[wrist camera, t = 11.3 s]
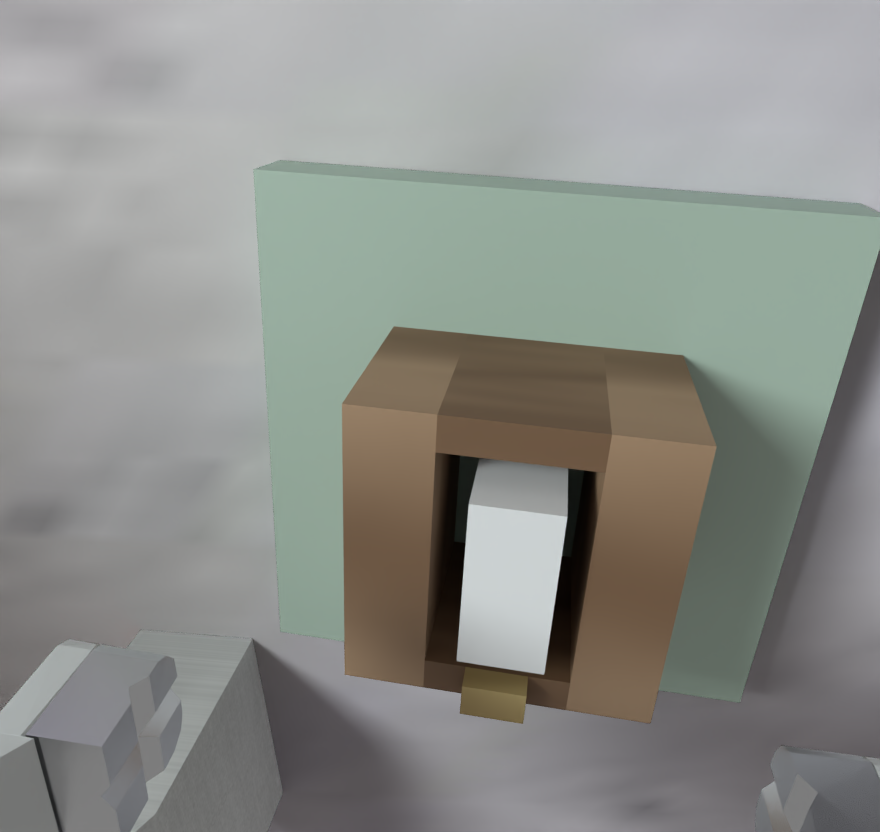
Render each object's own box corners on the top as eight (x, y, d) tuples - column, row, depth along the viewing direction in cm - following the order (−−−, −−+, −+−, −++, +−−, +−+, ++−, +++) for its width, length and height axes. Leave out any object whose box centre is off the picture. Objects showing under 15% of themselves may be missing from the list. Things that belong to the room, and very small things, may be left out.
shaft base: (298, 595, 22) (208, 773, 16) (279, 160, 16) (135, 209, 11) (728, 659, 20) (784, 878, 15) (860, 203, 15) (1022, 285, 9)
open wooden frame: (393, 326, 16) (333, 416, 12) (683, 355, 15) (722, 462, 11) (388, 556, 19) (337, 693, 15) (635, 590, 18) (652, 744, 14)
